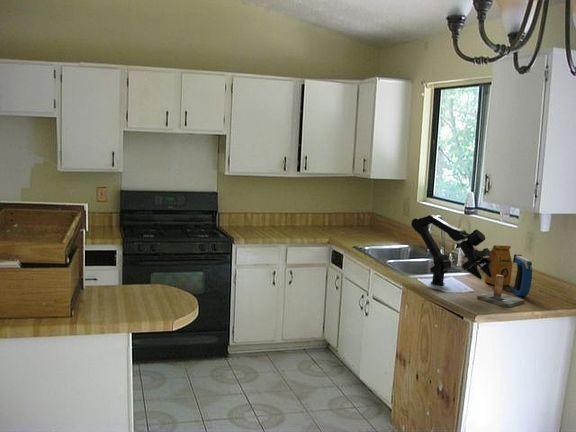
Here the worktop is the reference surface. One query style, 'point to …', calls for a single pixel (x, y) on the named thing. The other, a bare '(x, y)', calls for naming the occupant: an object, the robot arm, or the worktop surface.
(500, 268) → the coffee package
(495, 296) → the wooden block
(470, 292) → the worktop surface
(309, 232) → the worktop surface
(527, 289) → the blue curved piece
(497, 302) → the grey square tile
